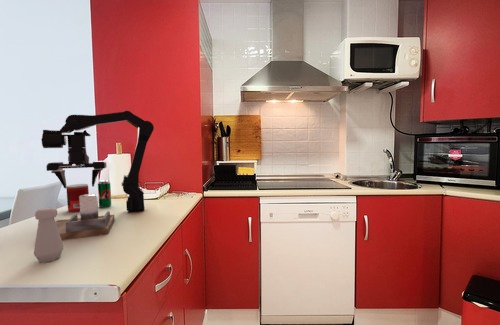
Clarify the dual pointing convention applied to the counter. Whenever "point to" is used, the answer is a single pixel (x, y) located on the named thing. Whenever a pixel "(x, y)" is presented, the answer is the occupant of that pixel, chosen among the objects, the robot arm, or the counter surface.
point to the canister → (89, 207)
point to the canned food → (75, 196)
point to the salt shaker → (47, 236)
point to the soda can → (104, 193)
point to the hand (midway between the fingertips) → (79, 187)
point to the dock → (84, 226)
